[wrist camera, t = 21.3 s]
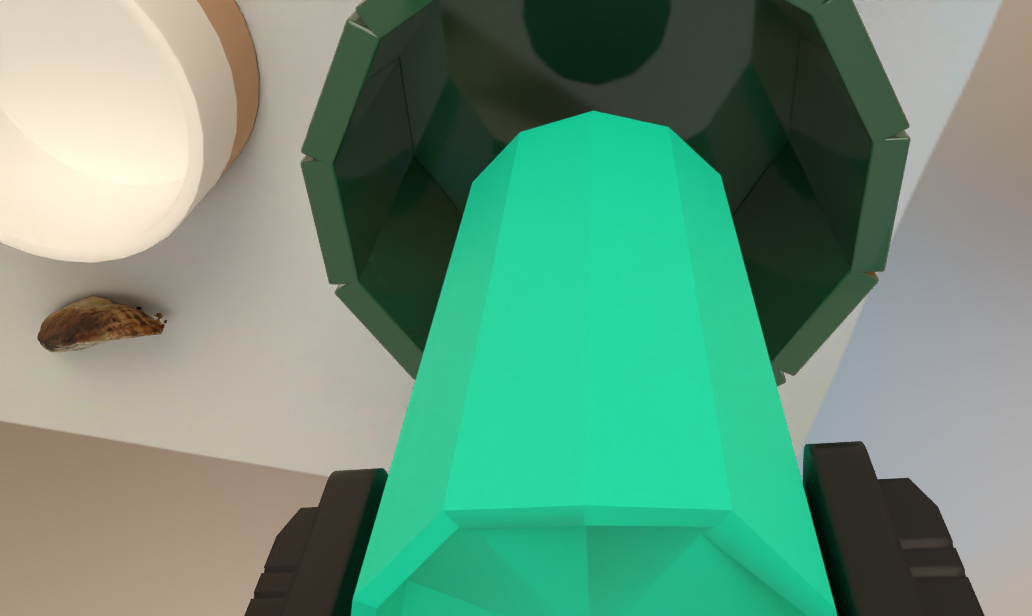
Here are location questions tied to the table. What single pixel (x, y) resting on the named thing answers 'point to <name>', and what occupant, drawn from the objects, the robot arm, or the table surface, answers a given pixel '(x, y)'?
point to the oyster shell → (95, 324)
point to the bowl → (117, 119)
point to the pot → (622, 92)
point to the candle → (595, 403)
